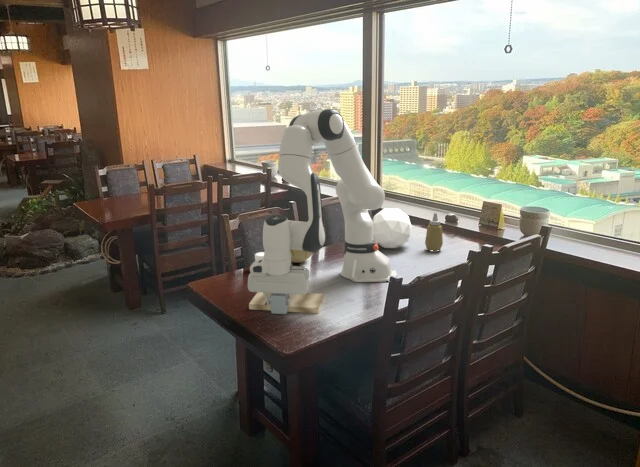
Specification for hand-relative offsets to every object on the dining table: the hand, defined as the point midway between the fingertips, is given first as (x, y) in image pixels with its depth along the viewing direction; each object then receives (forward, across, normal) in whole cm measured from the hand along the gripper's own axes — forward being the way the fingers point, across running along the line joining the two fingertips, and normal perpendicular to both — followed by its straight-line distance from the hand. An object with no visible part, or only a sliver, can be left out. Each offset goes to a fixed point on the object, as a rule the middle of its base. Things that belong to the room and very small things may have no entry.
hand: (279, 304), depth 160 cm
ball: (+4, -36, -79) cm, 87 cm away
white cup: (+4, +17, -41) cm, 44 cm away
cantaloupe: (+4, +5, -52) cm, 53 cm away
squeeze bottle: (+4, -56, -76) cm, 94 cm away
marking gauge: (+3, 0, -6) cm, 6 cm away
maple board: (+3, -1, -8) cm, 8 cm away
